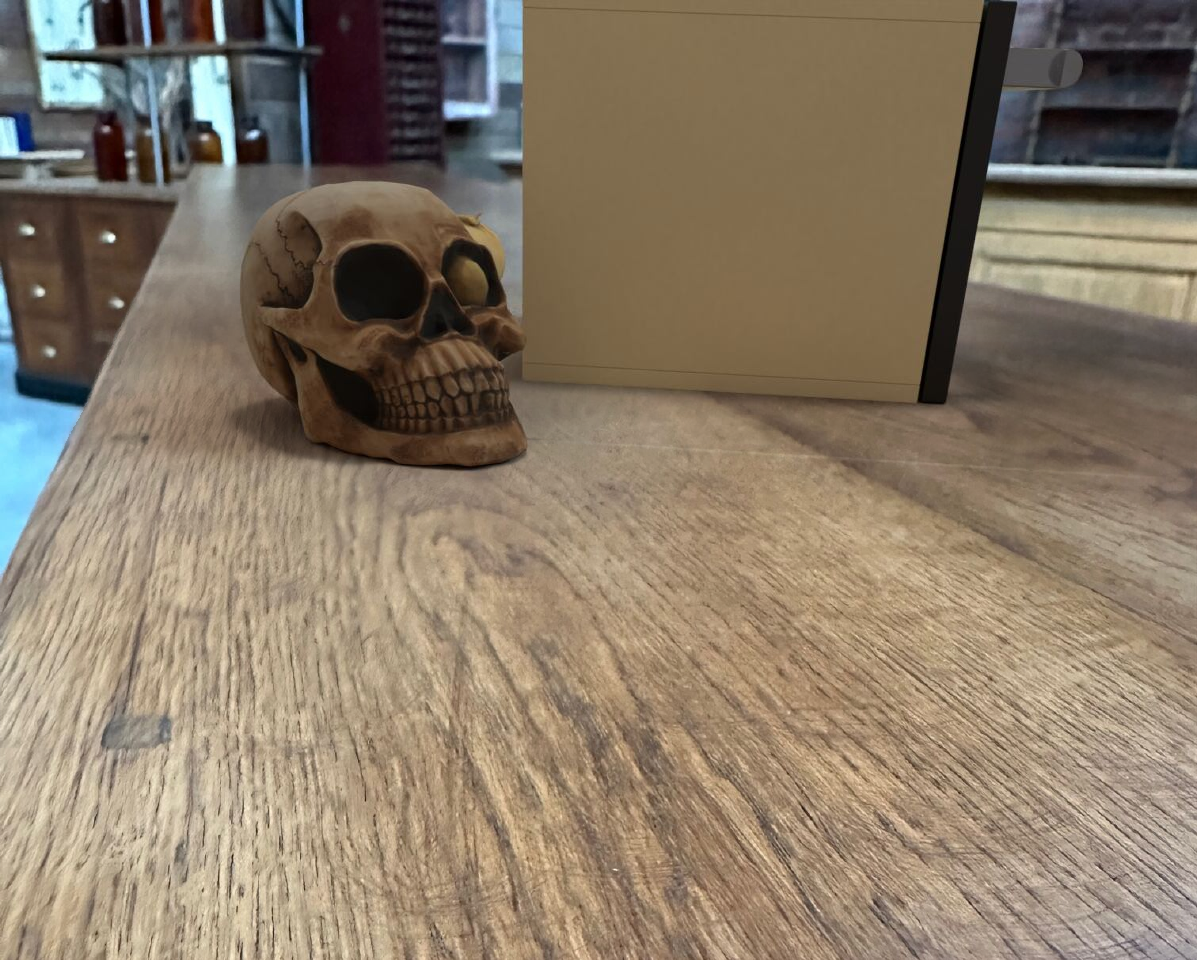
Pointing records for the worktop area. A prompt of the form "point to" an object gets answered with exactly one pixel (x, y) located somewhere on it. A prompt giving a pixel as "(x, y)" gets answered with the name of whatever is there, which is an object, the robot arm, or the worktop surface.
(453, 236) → the brown skull
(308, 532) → the worktop surface
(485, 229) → the onion
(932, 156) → the oven
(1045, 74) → the oven door
